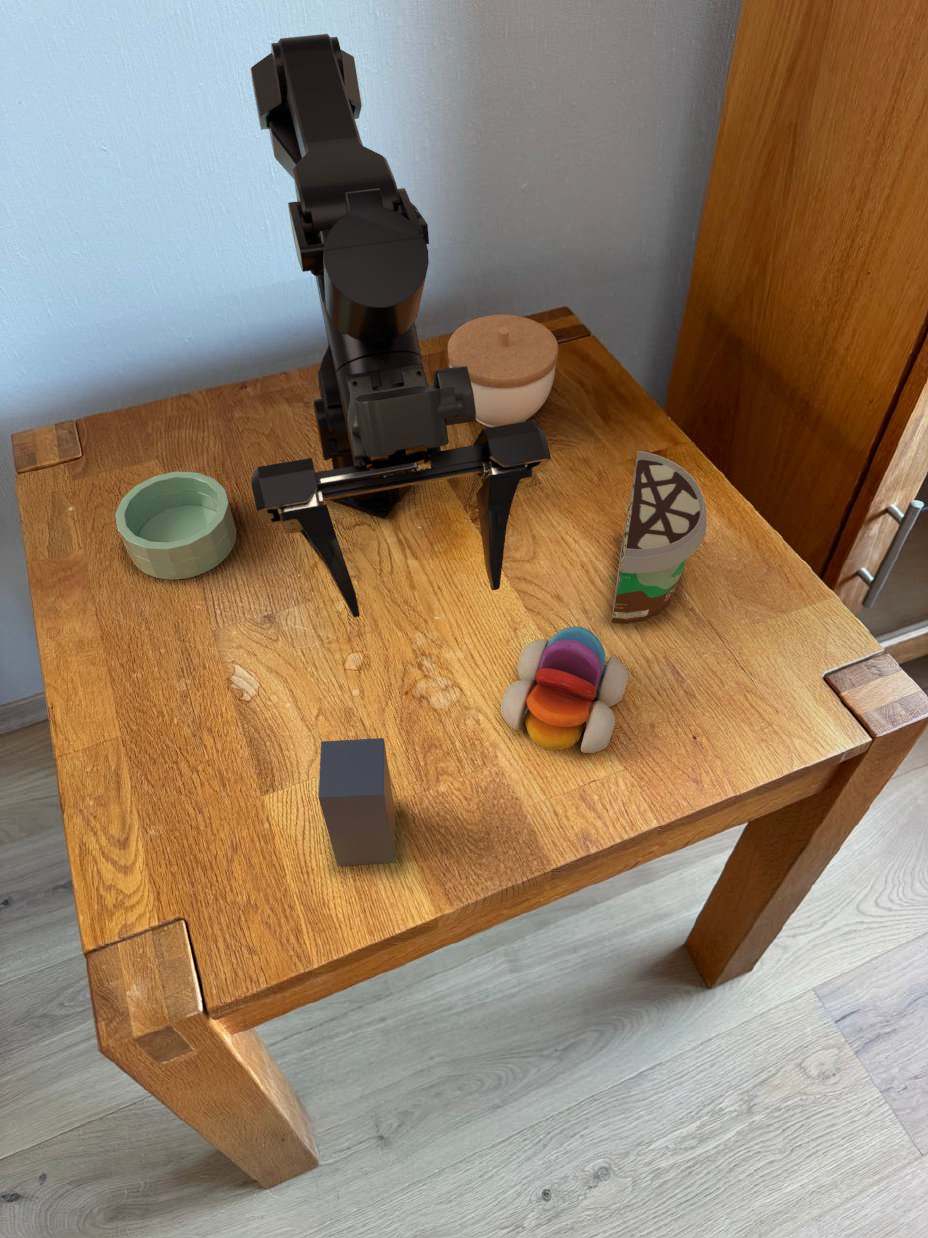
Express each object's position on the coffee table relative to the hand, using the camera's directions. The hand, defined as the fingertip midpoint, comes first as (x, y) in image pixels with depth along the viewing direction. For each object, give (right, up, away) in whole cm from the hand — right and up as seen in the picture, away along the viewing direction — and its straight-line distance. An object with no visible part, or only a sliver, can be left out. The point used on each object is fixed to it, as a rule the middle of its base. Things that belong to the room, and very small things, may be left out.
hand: (427, 603), depth 59 cm
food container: (+19, +2, +20) cm, 27 cm away
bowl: (-23, +6, +24) cm, 34 cm away
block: (-4, -17, +6) cm, 18 cm away
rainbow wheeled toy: (+10, -8, +12) cm, 18 cm away
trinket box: (+6, +20, +35) cm, 41 cm away
